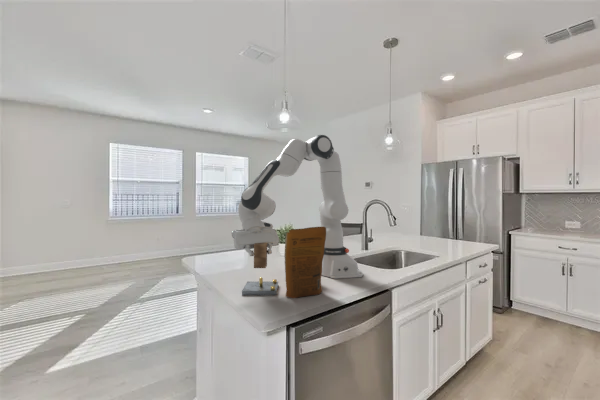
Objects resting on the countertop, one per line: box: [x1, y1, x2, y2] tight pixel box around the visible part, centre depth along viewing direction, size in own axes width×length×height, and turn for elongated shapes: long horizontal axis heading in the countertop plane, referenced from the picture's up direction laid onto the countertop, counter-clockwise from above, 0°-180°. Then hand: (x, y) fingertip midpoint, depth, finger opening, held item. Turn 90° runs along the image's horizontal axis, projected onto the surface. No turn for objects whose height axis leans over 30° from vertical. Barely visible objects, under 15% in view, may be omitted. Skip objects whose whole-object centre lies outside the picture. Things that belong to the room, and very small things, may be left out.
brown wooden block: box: [253, 243, 268, 269], centre depth 118 cm, size 5×5×10 cm
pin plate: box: [241, 277, 279, 296], centre depth 118 cm, size 14×12×6 cm
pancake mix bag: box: [284, 226, 326, 299], centre depth 112 cm, size 7×19×28 cm, turn 112°
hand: (261, 254), depth 117 cm, fingers closed on brown wooden block, 7 cm apart
